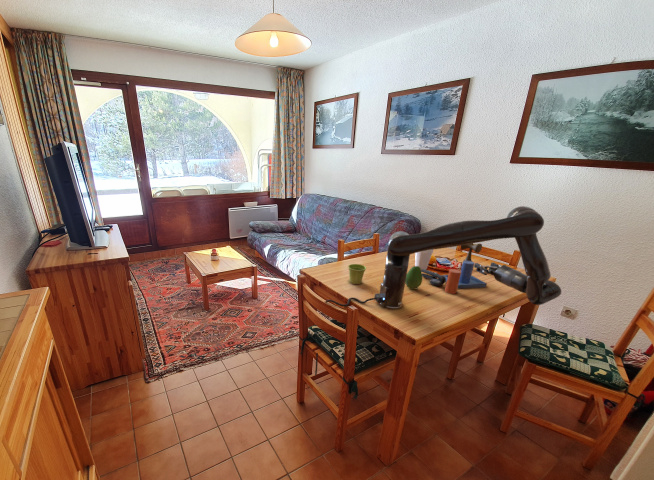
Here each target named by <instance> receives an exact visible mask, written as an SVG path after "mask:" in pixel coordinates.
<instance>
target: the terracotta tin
mask: <svg viewBox="0 0 654 480" xmlns="http://www.w3.org/2000/svg"><path fill="white" fill-rule="evenodd" d="M447 275H448V278H447V281H445V286H444V287H445V288H444V292H445V293H446V294H451V295H456V294H457V292H458V289H459V288H458V284H459V280H460V276H461V270H460V269H456V268H453V269H452V268H450V269H449V270H448V273H447Z"/></svg>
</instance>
